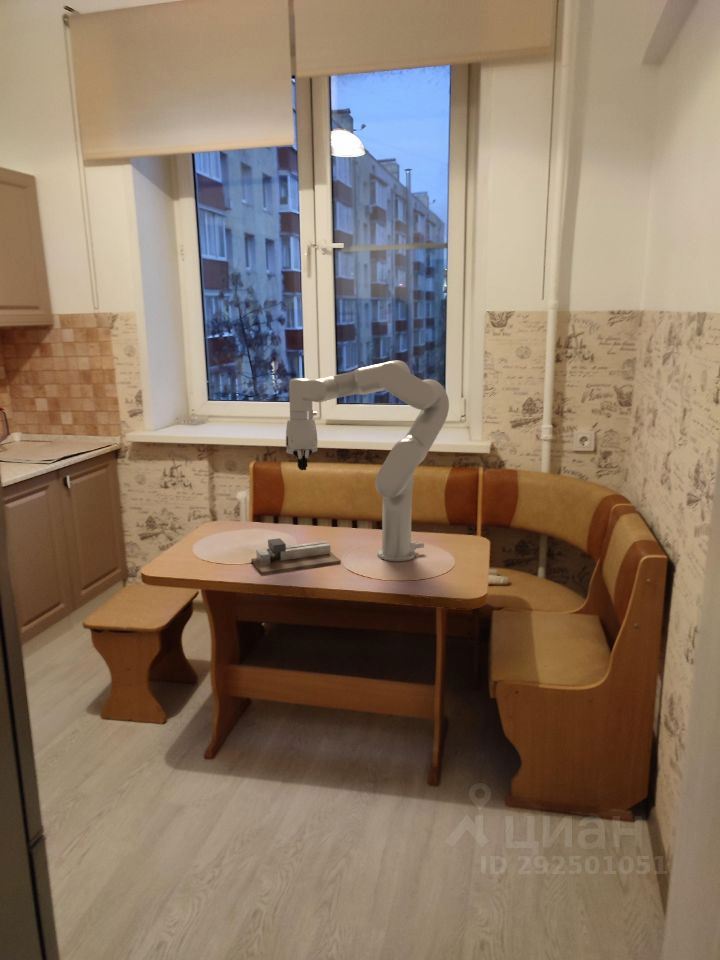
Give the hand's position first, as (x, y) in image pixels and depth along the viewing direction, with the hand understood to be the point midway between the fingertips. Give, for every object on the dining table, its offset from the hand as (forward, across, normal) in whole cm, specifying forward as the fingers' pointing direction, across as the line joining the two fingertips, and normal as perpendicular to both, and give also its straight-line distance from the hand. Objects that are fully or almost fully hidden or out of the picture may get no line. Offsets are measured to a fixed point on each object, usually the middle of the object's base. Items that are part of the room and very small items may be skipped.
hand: (302, 469), depth 227 cm
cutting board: (+27, +8, +16) cm, 32 cm away
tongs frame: (+26, +8, +13) cm, 30 cm away
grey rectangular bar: (+26, +6, +14) cm, 30 cm away
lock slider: (+23, +14, +13) cm, 29 cm away
